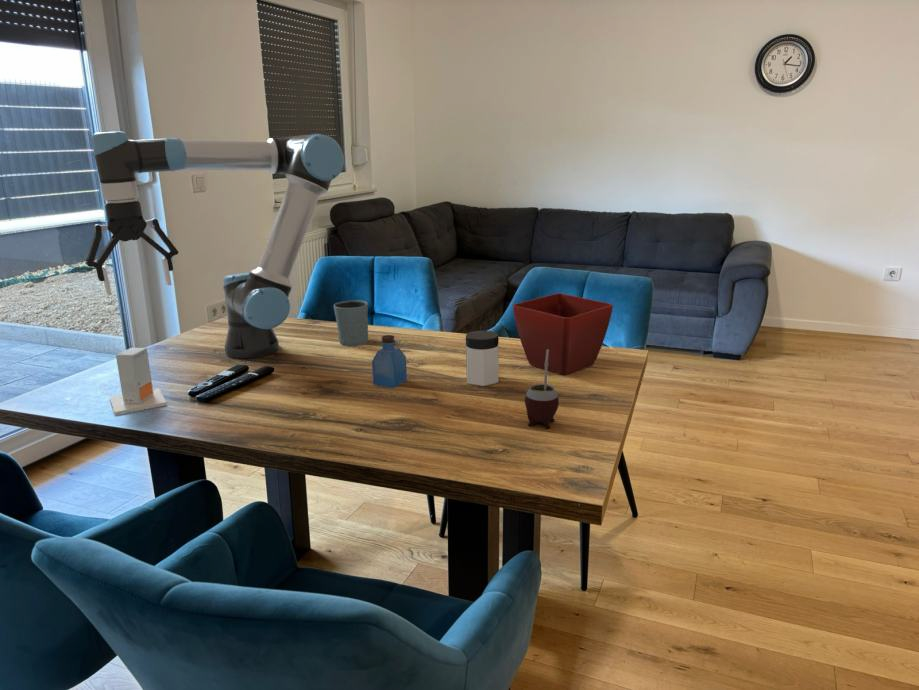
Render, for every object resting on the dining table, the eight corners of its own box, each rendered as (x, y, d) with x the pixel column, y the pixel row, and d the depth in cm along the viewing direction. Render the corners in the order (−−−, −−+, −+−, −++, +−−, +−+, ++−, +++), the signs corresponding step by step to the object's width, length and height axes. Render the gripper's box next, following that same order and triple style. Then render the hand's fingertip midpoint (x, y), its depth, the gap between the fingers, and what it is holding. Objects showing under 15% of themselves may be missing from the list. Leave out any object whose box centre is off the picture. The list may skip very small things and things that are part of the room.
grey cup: (367, 347, 199) (364, 307, 195) (333, 347, 199) (330, 308, 195) (372, 337, 208) (369, 299, 205) (339, 337, 208) (336, 300, 205)
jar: (500, 386, 165) (500, 339, 162) (467, 387, 165) (466, 340, 162) (497, 374, 174) (497, 329, 170) (465, 374, 174) (465, 330, 170)
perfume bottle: (406, 379, 171) (405, 334, 167) (394, 388, 166) (392, 341, 162) (386, 376, 173) (383, 332, 170) (373, 384, 168) (370, 338, 165)
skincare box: (140, 404, 156) (132, 355, 152) (123, 403, 156) (114, 355, 153) (155, 394, 161) (147, 347, 158) (138, 394, 162) (130, 347, 158)
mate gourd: (535, 432, 139) (536, 364, 135) (517, 419, 146) (517, 353, 142) (565, 426, 142) (568, 359, 137) (546, 413, 149) (548, 348, 144)
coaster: (159, 391, 166) (159, 388, 166) (166, 405, 157) (166, 401, 157) (110, 400, 161) (109, 397, 160) (114, 415, 152) (114, 412, 151)
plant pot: (565, 382, 167) (567, 317, 162) (510, 364, 181) (510, 304, 176) (611, 365, 179) (615, 304, 174) (557, 350, 193) (558, 292, 188)
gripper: (173, 194, 167) (188, 278, 173) (60, 205, 153) (80, 295, 160) (181, 196, 161) (196, 283, 167) (63, 207, 147) (84, 300, 154)
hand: (139, 289), depth 164 cm, fingers open, 13 cm apart
